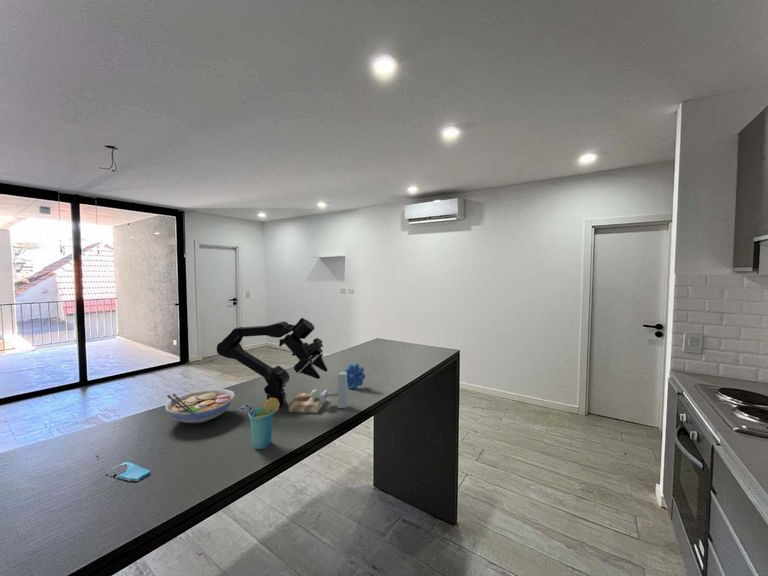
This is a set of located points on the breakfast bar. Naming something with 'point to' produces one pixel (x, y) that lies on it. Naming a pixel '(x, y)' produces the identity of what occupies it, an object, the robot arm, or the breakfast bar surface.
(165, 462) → the breakfast bar surface
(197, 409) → the ramen bowl
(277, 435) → the breakfast bar surface
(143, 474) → the sponge
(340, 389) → the pull handle
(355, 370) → the grapes
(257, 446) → the cup
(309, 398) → the board
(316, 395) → the ball
